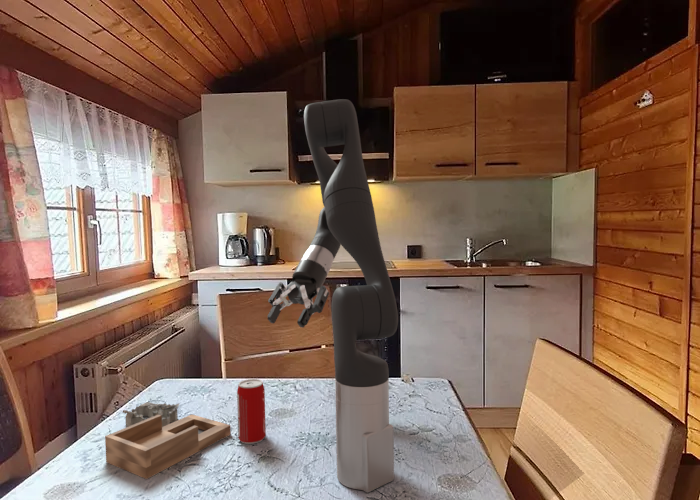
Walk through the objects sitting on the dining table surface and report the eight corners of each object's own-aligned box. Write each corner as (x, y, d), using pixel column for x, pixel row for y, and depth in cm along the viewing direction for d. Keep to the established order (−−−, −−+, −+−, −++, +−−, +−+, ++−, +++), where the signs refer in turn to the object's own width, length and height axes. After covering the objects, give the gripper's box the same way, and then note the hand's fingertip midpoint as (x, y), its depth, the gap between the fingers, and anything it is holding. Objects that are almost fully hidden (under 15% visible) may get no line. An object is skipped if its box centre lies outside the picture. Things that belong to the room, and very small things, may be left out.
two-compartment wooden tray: (230, 434, 98) (230, 411, 98) (146, 479, 81) (145, 451, 81) (192, 423, 104) (191, 401, 104) (106, 462, 87) (105, 436, 87)
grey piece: (120, 428, 103) (119, 410, 103) (141, 415, 110) (141, 398, 110) (163, 432, 101) (162, 413, 100) (182, 418, 108) (182, 400, 108)
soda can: (269, 440, 95) (268, 382, 95) (243, 447, 92) (241, 387, 92) (260, 430, 100) (259, 375, 99) (235, 436, 97) (233, 380, 97)
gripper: (283, 257, 115) (252, 311, 106) (332, 259, 108) (303, 317, 99) (297, 276, 120) (268, 329, 111) (344, 279, 113) (317, 336, 104)
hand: (285, 323), depth 105 cm, fingers open, 8 cm apart
